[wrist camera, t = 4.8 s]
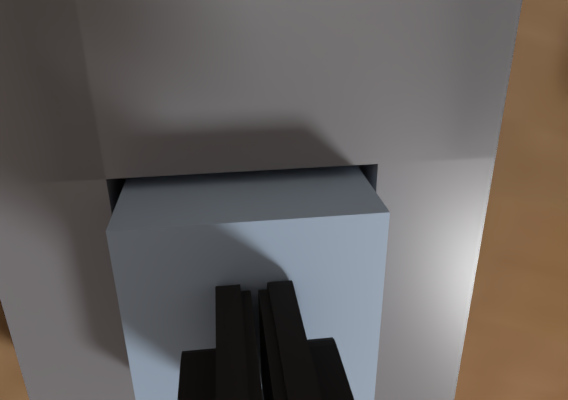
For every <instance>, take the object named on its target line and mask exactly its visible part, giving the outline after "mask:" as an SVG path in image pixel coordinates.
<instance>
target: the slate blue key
mask: <svg viewBox="0 0 568 400" xmlns="http://www.w3.org/2000/svg"><path fill="white" fill-rule="evenodd" d="M389 218H390V212H389V210H388V209H387V207H386V206H385V204H384V203H383V202H382V200H381V199H380V197H379V196H378V194H377V193H376V192H375V190H374V189H373V187H372V186H371V184H370V183H369V182H368V180H367V179H366V177H365V176H364V174H363V173H362V172H361V170H360V169H359V167H358V166H357V165H349V166H331V167H313V168H296V169H278V170H260V171H242V172H224V173H207V174H189V175H171V176H153V177H135V178H126V181H125V183H124V186H123V189H122V191H121V194H120V196H119V199H118V201H117V204H116V206H115V209H114V211H113V214H112V217H111V219H110V222H109V224H108V227H107V229H106V236H107V241H108V247H109V253H110V258H111V264H112V270H113V275H114V281H115V286H116V292H117V298H118V303H119V309H120V315H121V320H122V326H123V332H124V337H125V343H126V349H127V354H128V360H129V366H130V371H131V377H132V383H133V388H134V394H135V399H136V400H177V399H178V387H179V374H180V361H181V353H182V351H189V350H200V349H211V348H216V314H215V286H225V285H237V284H240V288H241V291H246V290H250V291H251V299H252V308H253V317H254V325H255V334H256V343H257V351H258V360H259V369H260V377H261V356H260V330H259V305H258V289H267V282H275V281H288V280H292V282H293V285H294V289H295V293H296V297H297V301H298V305H299V309H300V313H301V317H302V321H303V325H304V329H305V333H306V337H307V340H308V339H319V338H330V337H333V338H334V340H335V342H336V345H337V348H338V351H339V354H340V357H341V360H342V363H343V366H344V369H345V373H346V376H347V379H348V382H349V385H350V388H351V391H352V394H353V397H354V400H374V397H375V385H376V373H377V361H378V350H379V338H380V326H381V314H382V302H383V290H384V278H385V266H386V254H387V242H388V230H389ZM261 386H262V382H261Z"/></svg>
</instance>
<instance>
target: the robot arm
mask: <svg viewBox="0 0 568 400" xmlns="http://www.w3.org/2000/svg"><path fill="white" fill-rule="evenodd" d="M258 305H259V330H260V356H261V377H260V369H259V360H258V351H257V343H256V334H255V325H254V317H253V308H252V299H251V291H250V290H246V291H241V288H240V284H237V285H225V286H215V314H216V348H211V349H200V350H189V351H182V353H181V361H180V374H179V387H178V399H177V400H354V397H353V394H352V391H351V388H350V385H349V382H348V379H347V376H346V373H345V369H344V366H343V363H342V360H341V357H340V354H339V351H338V348H337V345H336V342H335V340H334V338H333V337H330V338H319V339H308V340H307V337H306V333H305V329H304V325H303V321H302V317H301V313H300V309H299V305H298V301H297V297H296V293H295V289H294V285H293V282H292V280H288V281H275V282H267V289H258ZM261 382H262V386H261Z"/></svg>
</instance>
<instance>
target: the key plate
mask: <svg viewBox="0 0 568 400" xmlns="http://www.w3.org/2000/svg"><path fill="white" fill-rule="evenodd" d="M521 5H522V0H0V300H1V304H2V307H3V310H4V314H5V317H6V321H7V324H8V327H9V331H10V334H11V338H12V341H13V345H14V348H15V351H16V355H17V358H18V362H19V365H20V368H21V372H22V375H23V379H24V382H25V386H26V389H27V392H28V396H29V399H30V400H136V399H135V394H134V388H133V383H132V377H131V371H130V366H129V360H128V354H127V349H126V343H125V337H124V332H123V326H122V320H121V315H120V309H119V303H118V298H117V292H116V286H115V281H114V275H113V270H112V264H111V258H110V253H109V247H108V241H107V236H106V229H107V227H108V224H109V222H110V219H111V217H112V214H113V211H114V209H115V206H116V204H117V201H118V199H119V196H120V194H121V191H122V189H123V186H124V183H125V181H126V178H135V177H153V176H171V175H189V174H207V173H224V172H242V171H260V170H278V169H296V168H313V167H331V166H349V165H357V166H358V167H359V169H360V170H361V172H362V173H363V174H364V176H365V177H366V179H367V180H368V182H369V183H370V184H371V186H372V187H373V189H374V190H375V192H376V193H377V194H378V196H379V197H380V199H381V200H382V202H383V203H384V204H385V206H386V207H387V209H388V210H389V212H390V218H389V230H388V242H387V254H386V266H385V278H384V290H383V302H382V314H381V326H380V338H379V350H378V361H377V373H376V385H375V397H374V400H454V397H455V391H456V385H457V379H458V373H459V368H460V362H461V356H462V350H463V344H464V338H465V332H466V327H467V321H468V315H469V309H470V303H471V297H472V292H473V286H474V280H475V274H476V268H477V262H478V256H479V251H480V245H481V239H482V233H483V227H484V221H485V215H486V210H487V204H488V198H489V192H490V186H491V180H492V175H493V169H494V163H495V157H496V151H497V145H498V139H499V134H500V128H501V122H502V116H503V110H504V104H505V99H506V93H507V87H508V81H509V75H510V69H511V63H512V58H513V52H514V46H515V40H516V34H517V28H518V22H519V17H520V11H521Z"/></svg>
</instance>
